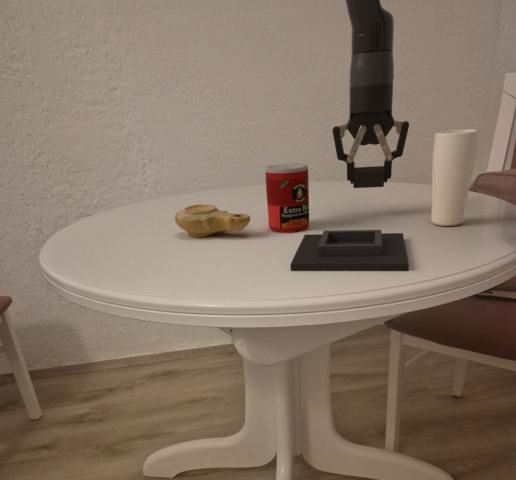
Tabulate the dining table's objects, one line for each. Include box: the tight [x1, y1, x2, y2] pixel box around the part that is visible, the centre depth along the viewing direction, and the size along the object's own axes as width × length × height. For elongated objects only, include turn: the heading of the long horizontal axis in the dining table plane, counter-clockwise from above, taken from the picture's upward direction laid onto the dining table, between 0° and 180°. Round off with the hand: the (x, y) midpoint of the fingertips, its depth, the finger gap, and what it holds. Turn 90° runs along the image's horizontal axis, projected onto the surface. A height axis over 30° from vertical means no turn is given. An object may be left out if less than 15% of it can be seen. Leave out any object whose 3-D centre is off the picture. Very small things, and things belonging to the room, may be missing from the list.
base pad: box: [290, 229, 410, 272], centre depth 73 cm, size 16×16×2 cm
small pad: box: [352, 165, 385, 189], centre depth 92 cm, size 6×6×3 cm
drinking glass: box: [430, 129, 479, 227], centre depth 82 cm, size 7×7×15 cm
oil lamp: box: [174, 204, 251, 238], centre depth 89 cm, size 11×14×5 cm
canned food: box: [264, 162, 310, 233], centre depth 88 cm, size 8×8×11 cm
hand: (368, 182), depth 93 cm, fingers closed on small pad, 5 cm apart
